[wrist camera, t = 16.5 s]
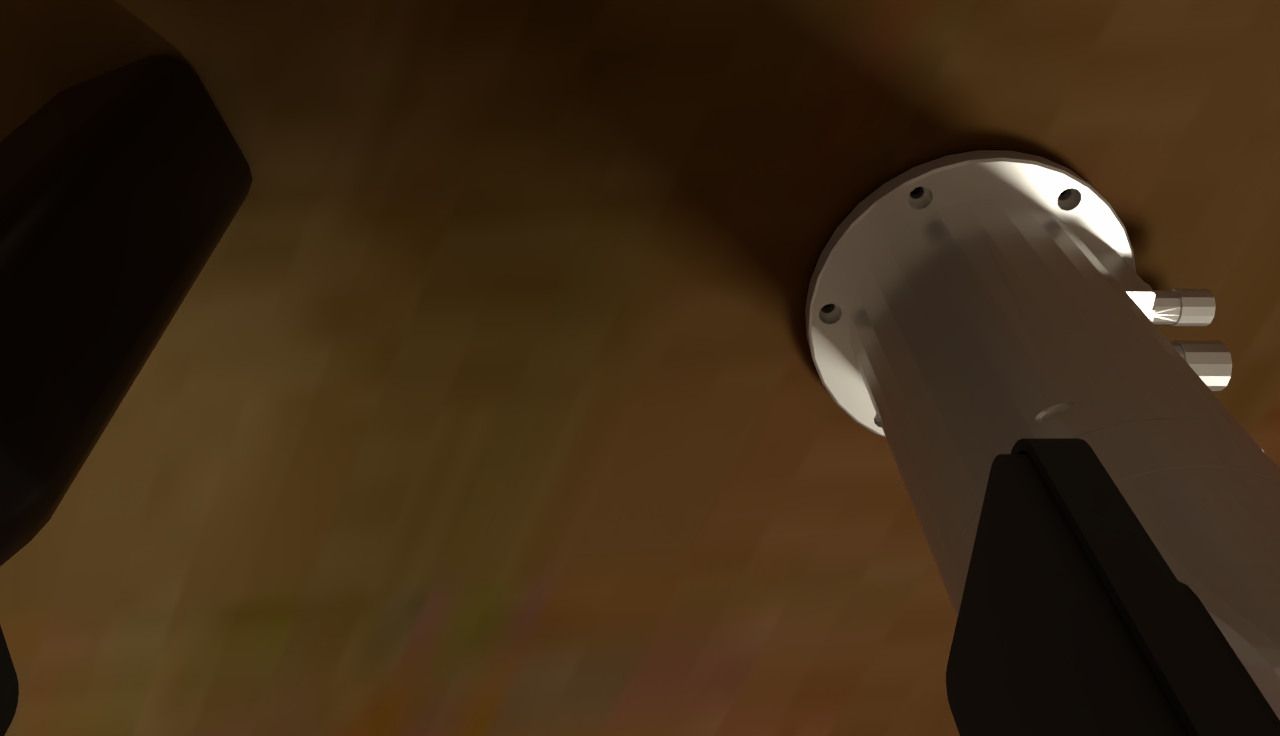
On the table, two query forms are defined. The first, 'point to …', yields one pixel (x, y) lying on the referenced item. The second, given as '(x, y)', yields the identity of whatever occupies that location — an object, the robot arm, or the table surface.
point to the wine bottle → (98, 262)
